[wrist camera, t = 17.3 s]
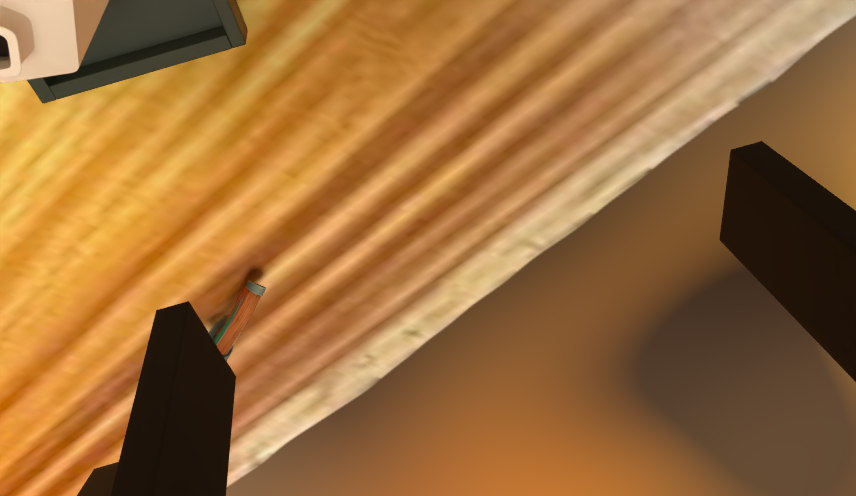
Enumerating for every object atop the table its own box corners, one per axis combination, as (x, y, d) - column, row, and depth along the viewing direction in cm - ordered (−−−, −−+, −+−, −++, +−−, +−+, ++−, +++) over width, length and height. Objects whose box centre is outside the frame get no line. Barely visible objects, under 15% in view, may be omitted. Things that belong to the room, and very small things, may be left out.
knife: (247, 259, 45) (244, 303, 41) (271, 268, 46) (271, 313, 42) (139, 422, 53) (129, 472, 49) (162, 427, 54) (154, 477, 50)
